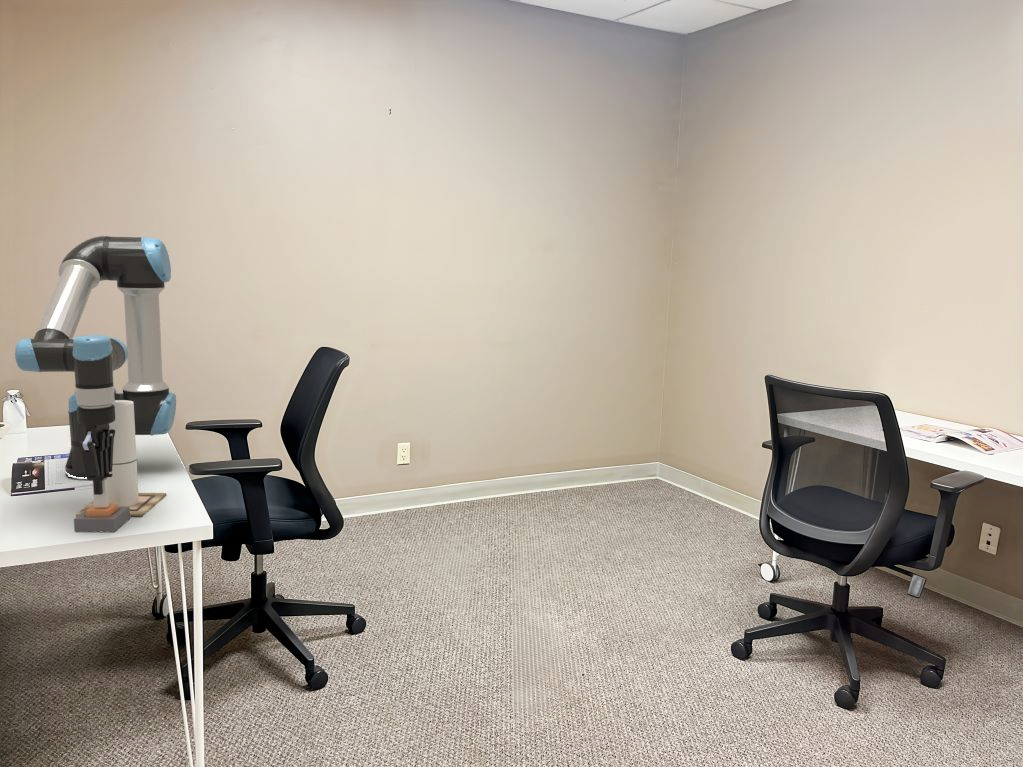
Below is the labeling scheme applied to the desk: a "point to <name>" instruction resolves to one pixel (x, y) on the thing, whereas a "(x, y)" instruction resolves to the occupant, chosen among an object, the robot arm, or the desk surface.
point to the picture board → (142, 506)
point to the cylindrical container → (124, 457)
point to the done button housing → (102, 521)
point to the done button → (102, 511)
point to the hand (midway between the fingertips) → (101, 506)
